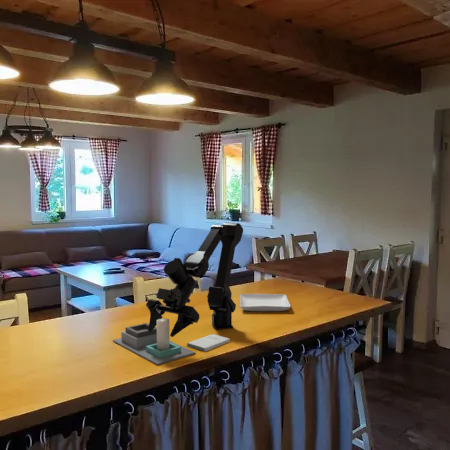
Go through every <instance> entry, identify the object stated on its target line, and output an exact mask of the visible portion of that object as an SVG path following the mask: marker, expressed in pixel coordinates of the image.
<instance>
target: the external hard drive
mask: <svg viewBox="0 0 450 450" xmlns="http://www.w3.org/2000/svg"><path fill="white" fill-rule="evenodd" d="M227 342H228V343H230V342H231V338H229V337H226V336H222V335H218V334H214V333H212V334H209V335H206V336H203V337H201V338H197V339H195V340H191V341H190V342H187V343H186V346H187V347H190V348H192V349H195V350H198V351H202V352H208V351H211V350H213V349H216V348H218V347H220V346H223V345H225V344H228V343H227Z"/></svg>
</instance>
